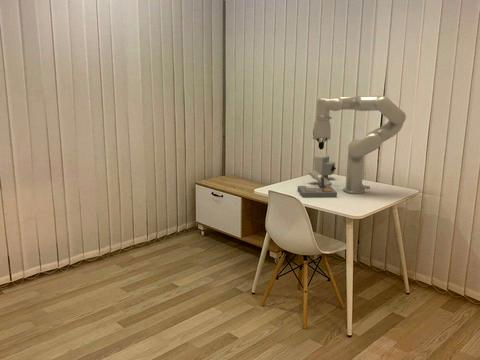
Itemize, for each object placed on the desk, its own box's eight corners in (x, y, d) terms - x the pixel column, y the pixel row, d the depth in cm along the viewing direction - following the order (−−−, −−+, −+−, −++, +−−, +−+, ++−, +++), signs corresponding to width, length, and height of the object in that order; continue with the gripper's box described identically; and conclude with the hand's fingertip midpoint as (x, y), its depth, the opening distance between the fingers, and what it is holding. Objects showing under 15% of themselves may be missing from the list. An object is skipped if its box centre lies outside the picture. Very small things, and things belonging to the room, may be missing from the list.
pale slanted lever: (327, 184, 297) (309, 171, 303) (322, 191, 300) (305, 178, 306) (333, 182, 304) (315, 169, 310) (328, 189, 307) (311, 176, 312)
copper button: (329, 193, 279) (329, 188, 279) (331, 195, 275) (331, 190, 274) (322, 193, 279) (322, 188, 278) (323, 195, 275) (324, 190, 274)
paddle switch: (324, 185, 287) (324, 176, 286) (325, 187, 283) (326, 177, 281) (318, 185, 287) (318, 176, 285) (319, 187, 283) (320, 177, 281)
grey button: (312, 190, 278) (313, 185, 278) (314, 192, 274) (314, 187, 274) (305, 190, 278) (305, 185, 278) (306, 192, 274) (307, 187, 273)
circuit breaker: (332, 181, 314) (333, 158, 311) (312, 178, 322) (313, 156, 318) (336, 179, 320) (337, 157, 317) (317, 176, 328) (318, 155, 325)
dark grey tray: (330, 190, 289) (330, 185, 289) (336, 197, 274) (336, 192, 273) (297, 190, 288) (297, 185, 287) (302, 197, 273) (302, 192, 272)
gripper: (333, 118, 287) (331, 148, 291) (309, 118, 286) (307, 148, 290) (336, 119, 280) (334, 150, 284) (311, 119, 279) (310, 150, 283)
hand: (321, 149), depth 287 cm, fingers closed
